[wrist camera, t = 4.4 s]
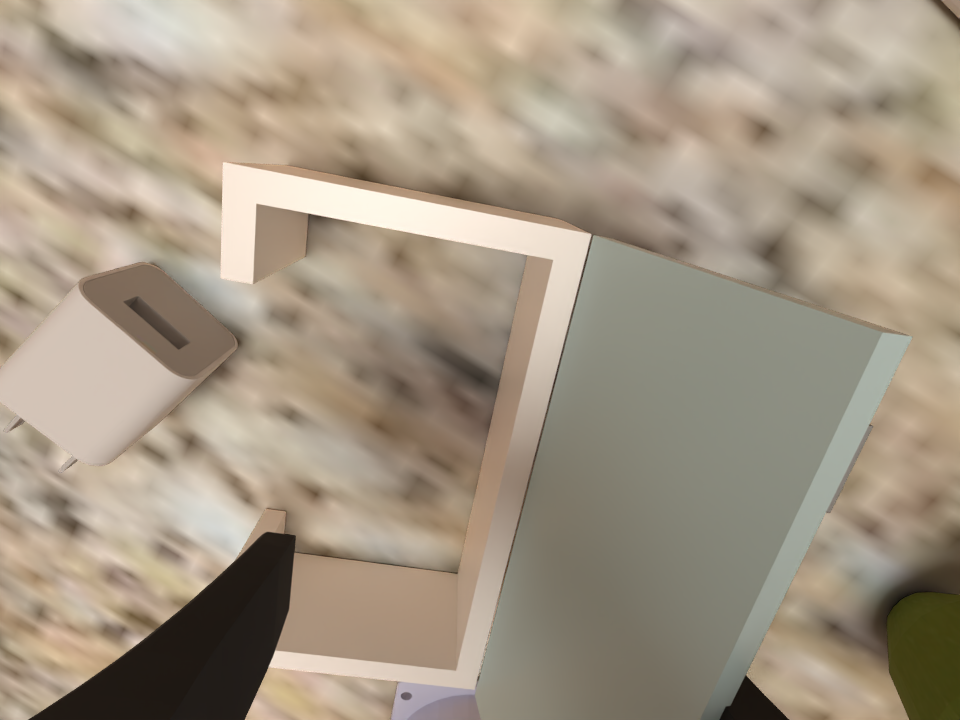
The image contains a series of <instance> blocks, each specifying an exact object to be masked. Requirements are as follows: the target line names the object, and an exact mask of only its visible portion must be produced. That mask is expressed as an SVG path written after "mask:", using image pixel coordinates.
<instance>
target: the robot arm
mask: <svg viewBox="0 0 960 720" xmlns="http://www.w3.org/2000/svg"><path fill="white" fill-rule="evenodd" d="M295 539H296V536H295V535H288V534H281V533H274V532H265V533H264V534H262V535H261V536H260V537H259V538H258V539H257V540H256V541H255V542H254V543H253V544H252V545H251V546H250V547H249V548H248V549H247V550H246V551H245V552H244V553H243V554H242V555H241V556H240V557H239V558H238V559H236V560H235V561H234V562H233V563H232V564H231V565H230V566H229V567H228V568H227V569H226V570H225V571H224V572H223V573H222V574H221V575H219V576H218V577H217V578H216V579H215V580H214V581H213V582H212V583H211V584H209V585H208V586H207V587H206V588H205V589H204V590H203V591H201V592H200V593H199V594H198V595H197V596H196V597H195V598H194V599H192V600H191V601H190V602H189V603H188V604H187V605H186V606H184V607H183V608H182V609H181V610H180V611H178V612H177V613H176V614H175V615H173V616H172V617H171V618H170V619H169V620H167V621H166V622H165V623H164V624H162V625H161V626H160V627H159V628H157V629H156V630H155V631H154V632H152V633H151V634H150V635H149V636H147V637H146V638H145V639H144V640H142V641H141V642H140V643H139V644H137V645H136V646H135V647H133V648H132V649H131V650H129V651H128V652H127V653H125V654H124V655H123V656H121V657H120V658H119V659H117V660H116V661H115V662H113V663H112V664H110V665H109V666H108V667H106V668H105V669H103V670H102V671H101V672H99V673H98V674H96V675H95V676H94V677H92V678H91V679H89V680H88V681H86V682H85V683H84V684H82V685H81V686H79V687H78V688H76V689H75V690H73V691H72V692H70V693H69V694H67V695H65V696H64V697H62V698H61V699H59V700H58V701H56V702H55V703H53V704H52V705H50V706H49V707H47V708H46V709H44V710H43V711H41V712H40V713H38V714H37V715H35V716H33V717H32V718H30V719H29V720H245V717H246V715H247V713H248V711H249V709H250V707H251V704H252V702H253V700H254V698H255V696H256V693H257V691H258V689H259V687H260V685H261V682H262V680H263V678H264V676H265V674H266V671H267V669H268V667H269V665H270V663H271V660H272V658H273V655H274V652H275V649H276V647H277V644H278V641H279V638H280V635H281V632H282V629H283V626H284V623H285V620H286V617H287V614H288V611H289V606H290V595H291V584H292V572H293V561H294V550H295ZM477 684H478V681H477V682H476V686H475V690H472V689H463V688H453V687H444V686H435V685H426V684H417V683H408V682H399V681H398V683H397V688H396V693H395V699H394V704H393V709H392V715H391V720H481V718H480V714H479V710H478V706H477V702H476V698H475V692H476V688H477ZM719 720H789V719H788V718H787V717H786V716H785V715H784V714H783V713H782V712H781V711H780V710H779V709H778V708H777V707H776V706H775V705H774V704H773V703H772V702H771V701H770V700H769V699H768V698H767V697H766V696H765V695H764V694H763V693H762V692H761V691H760V690H759V689H758V688H757V687H756V686H755V685H754V683H753V682H752V681H751V680H750V679H749V678H748V677H747V676H746V675H745V677H744V679H743V681H742V683H741V685H740V687H739V689H738V691H737V693H736V696H735V698H734V700H733V702H732V704H731V706H726V707H725V709H724V711H723V713H722V715H721V717H720V719H719Z"/></svg>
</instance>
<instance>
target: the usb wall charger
mask: <svg viewBox="0 0 960 720" xmlns="http://www.w3.org/2000/svg"><path fill="white" fill-rule="evenodd" d="M237 347H238V343H237V340H236V338H235V336H234V335H233V334H232V333H231V332H230V331H229V330H228V329H227V328H226V327H225V326H224V325H222V324H221V323H220V322H219V321H218V320H217V319H216V318H215V317H214V316H213V315H211V314H210V313H209V312H208V311H207V310H206V309H205V308H204V307H203V306H202V305H201V304H199V303H198V302H197V301H196V300H195V299H194V298H193V297H192V296H191V295H190V294H188V293H187V292H186V291H185V290H184V289H183V288H182V287H181V286H180V285H179V284H178V283H176V282H175V281H174V280H173V279H172V278H171V277H170V276H169V275H168V274H167V273H165V272H164V271H163V270H162V269H160V268H159V267H157V266H155V265H152V264H149V263H145V262H139V263H135V264H132V265H128V266H125V267H121V268H117V269H114V270H110V271H106V272H103V273H99V274H95V275H92V276H88V277H85V278H82V279H81V280H80V281H79V282H78V283H77V284H76V285H75V286H74V288H73V289H72V290H71V291H70V292H69V293H68V294H67V295H66V296H65V297H64V298H63V300H62V301H61V302H60V303H59V304H58V305H57V306H56V307H55V308H54V309H53V311H52V312H51V313H50V314H49V315H48V316H47V317H46V318H45V319H44V320H43V321H42V323H41V324H40V325H39V326H38V327H37V328H36V329H35V330H34V331H33V332H32V333H31V335H30V336H29V337H28V338H27V339H26V340H25V341H24V342H23V343H22V344H21V346H20V347H19V348H18V349H17V350H16V351H15V352H14V353H13V354H12V355H11V356H10V358H9V359H8V360H7V361H6V362H5V363H4V364H3V365H2V366H1V367H0V402H1V403H2V404H3V405H5V406H6V407H7V408H9V409H10V410H11V411H13V412H14V413H15V414H17V415H16V416H15V417H14V419H13V420H12V421H11V422H10V423H9V424H8V425H7V426H6V427H5V429H4V430H3V431H4V432H5V433H7V432H9V431H11V430H13V429H14V428H16V427H18V426H20V425H21V424H23V423H24V422H25V421H26V422H27V423H29V424H30V425H31V426H33V427H34V428H35V429H37V430H38V431H39V432H41V433H42V434H43V435H45V436H46V437H47V438H49V439H50V440H52V441H53V442H54V443H56V444H57V445H58V446H60V447H61V448H62V449H64V450H65V451H66V452H68V453H69V454H70V455H72V457H71V458H70V459H69V460H68V461H67V462H66V463H65V464H64V465H63V466H62V467H61V468H60V469H59V470H58V472H59V473H62V472H63V471H65V470H66V469H68V468H69V467H70V466H72V465H73V464H74V463H76V462H77V461H78V460H79V461H81V462H83V463H85V464H88V465H94V466H102V465H107V464H109V463H111V462H112V461H114V460H115V459H116V458H117V457H118V456H120V455H121V454H122V453H123V452H125V451H126V450H127V449H128V448H129V447H131V446H132V445H133V444H134V443H136V442H137V441H138V440H139V439H140V438H142V437H143V436H144V435H145V434H146V433H148V432H149V431H150V430H151V429H153V428H154V427H155V426H156V425H157V424H158V423H160V422H161V421H162V420H163V419H164V418H165V417H166V416H167V415H168V414H169V413H170V412H171V411H172V410H173V409H174V408H175V407H176V406H177V405H178V404H180V403H181V402H182V401H183V400H184V399H185V398H186V397H187V396H188V395H189V394H190V393H191V392H192V391H193V390H194V389H195V388H196V387H197V386H198V385H200V384H201V383H202V382H203V381H204V380H205V379H206V378H207V377H208V376H209V375H210V374H211V373H212V372H213V371H214V370H215V369H216V368H217V367H218V366H220V365H221V364H222V363H223V362H224V361H225V360H226V359H227V358H228V357H229V356H230V355H231V354H232V353H233V352H234V351H235V350H236V349H237Z"/></svg>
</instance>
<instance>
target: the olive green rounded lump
mask: <svg viewBox="0 0 960 720" xmlns="http://www.w3.org/2000/svg"><path fill="white" fill-rule="evenodd" d="M887 642H888V659H889V673H890V675H891V678H892V680H893V682H894V685H895V687H896V689H897V692H898V694H899V696H900V699H901V701H902V703H903V706H904V708H905V710H906V713H907V715H908V717H909V720H960V595H956V594H946V593H937V592H921V593H914V594H912V595H910V596H907V597H905V598H903V599H902V600H901V601H899V602H898V603H897V604H896V605H895V606H894V607H893V608H892V610H891V611H890V613H889V615H888V616H887Z"/></svg>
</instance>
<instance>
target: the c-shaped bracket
mask: <svg viewBox="0 0 960 720" xmlns="http://www.w3.org/2000/svg"><path fill="white" fill-rule="evenodd" d="M309 214H314V215H320V216H325V217H330V218H335V219H341V220H346V221H351V222H356V223H362V224H367V225H372V226H378V227H383V228H388V229H393V230H399V231H404V232H409V233H414V234H420V235H425V236H430V237H435V238H441V239H446V240H451V241H457V242H462V243H467V244H472V245H478V246H483V247H488V248H493V249H499V250H504V251H509V252H515V253H520V254H525V255H527V260H526V264H525V269H524V273H523V278H522V282H521V287H520V292H519V296H518V301H517V305H516V310H515V314H514V319H513V323H512V328H511V333H510V337H509V342H508V346H507V351H506V355H505V360H504V365H503V369H502V374H501V378H500V383H499V387H498V392H497V396H496V401H495V406H494V410H493V415H492V419H491V424H490V428H489V433H488V438H487V442H486V447H485V451H484V456H483V460H482V465H481V470H480V474H479V479H478V483H477V488H476V492H475V497H474V501H473V506H472V511H471V515H470V520H469V524H468V529H467V533H466V538H465V543H464V547H463V552H462V556H461V561H460V565H459V570H458V574H455V573H447V572H440V571H432V570H424V569H417V568H409V567H401V566H394V565H386V564H378V563H371V562H363V561H355V560H347V559H340V558H332V557H324V556H317V555H309V554H301V553H294V561H293V572H292V584H291V595H290V606H289V611H288V614H287V617H286V620H285V623H284V626H283V629H282V632H281V635H280V638H279V641H278V644H277V647H276V649H275V652H274V655H273V658H272V660H271V663H270V665H269V667H271V668H280V669H289V670H298V671H307V672H317V673H326V674H335V675H344V676H353V677H362V678H371V679H380V680H390V681H399V682H408V683H417V684H426V685H435V686H444V687H453V688H463V689H472V690H475V686H476V682H477V678H478V675H479V671H480V667H481V663H482V659H483V655H484V651H485V647H486V643H487V640H488V636H489V632H490V628H491V624H492V620H493V616H494V612H495V608H496V605H497V601H498V597H499V593H500V589H501V585H502V581H503V577H504V573H505V570H506V566H507V562H508V558H509V554H510V550H511V546H512V542H513V538H514V535H515V531H516V527H517V523H518V519H519V515H520V511H521V507H522V503H523V500H524V496H525V492H526V488H527V484H528V480H529V476H530V472H531V468H532V465H533V461H534V457H535V453H536V449H537V445H538V441H539V437H540V433H541V430H542V426H543V422H544V418H545V414H546V410H547V406H548V402H549V398H550V395H551V391H552V387H553V383H554V379H555V375H556V371H557V367H558V363H559V359H560V356H561V352H562V348H563V344H564V340H565V336H566V332H567V328H568V324H569V321H570V317H571V313H572V309H573V305H574V301H575V297H576V293H577V289H578V286H579V282H580V278H581V274H582V270H583V266H584V262H585V258H586V254H587V251H588V247H589V243H590V239H591V235H592V234H590V233H588V232H586V231H584V230H582V229H580V228H578V227H575V226H573V225H571V224H569V223H567V222H565V221H563V220H560V219H557V218H552V217H546V216H541V215H536V214H531V213H526V212H521V211H516V210H511V209H506V208H501V207H496V206H491V205H486V204H481V203H476V202H471V201H465V200H460V199H455V198H450V197H445V196H440V195H435V194H430V193H425V192H420V191H415V190H410V189H405V188H400V187H395V186H390V185H384V184H379V183H374V182H369V181H364V180H359V179H354V178H349V177H344V176H339V175H334V174H329V173H324V172H319V171H314V170H309V169H303V168H298V167H293V166H288V165H273V164H254V163H234V162H223V189H222V236H221V279H226V280H232V281H238V282H243V283H249V284H254V283H256V282H258V281H260V280H262V279H264V278H266V277H268V276H270V275H272V274H273V273H275V272H277V271H279V270H281V269H283V268H285V267H287V266H289V265H291V264H293V263H295V262H296V261H298V260H300V259H302V258H304V257H305V255H306V242H307V229H308V216H309ZM285 519H286V511H279V510H272V509H265V511H264V513H263V514H262V516H261V518H260V520H259V521H258V523H257V525H256V526H255V528H254V530H253V531H252V533H251V535H250V536H249V538H248V540H247V542H246V543H245V545H244V547H243V548H242V550H241V552H240V553H239V555H238V557H237V558H236V559H238V558H239V557H240V556H241V555H242V554H243V553H244V552H245V551H246V550H247V549H248V548H249V547H250V546H251V545H252V544H253V543H254V542H255V541H256V540H257V539H258V538H259V537H260V536H261V535H262V534H264V533H265V532H274V533H281V534H284V532H285Z"/></svg>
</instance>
